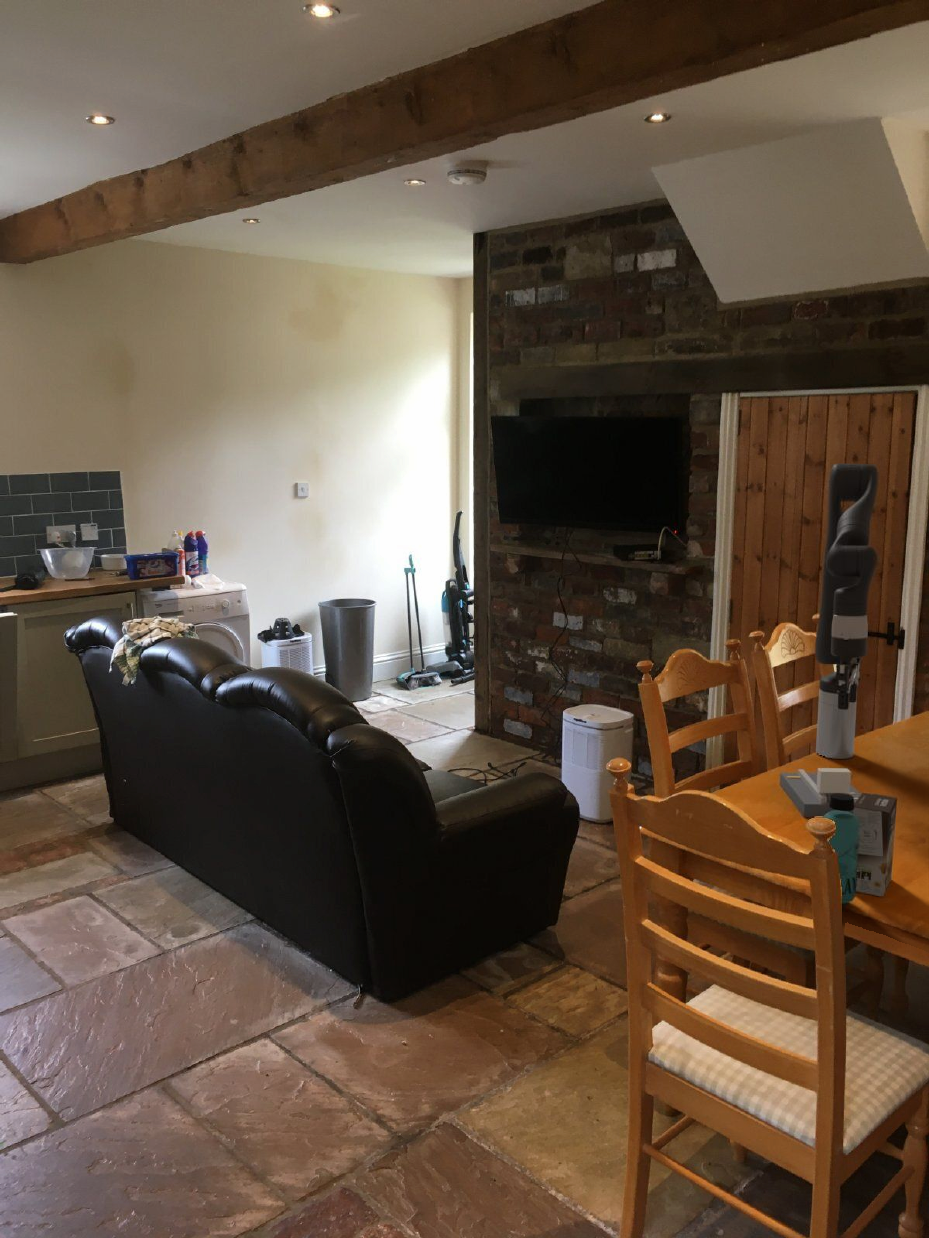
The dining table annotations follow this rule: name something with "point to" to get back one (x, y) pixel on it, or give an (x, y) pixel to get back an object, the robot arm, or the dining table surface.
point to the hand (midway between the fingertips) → (847, 705)
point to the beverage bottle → (845, 842)
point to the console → (808, 793)
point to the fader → (833, 781)
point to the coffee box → (875, 842)
